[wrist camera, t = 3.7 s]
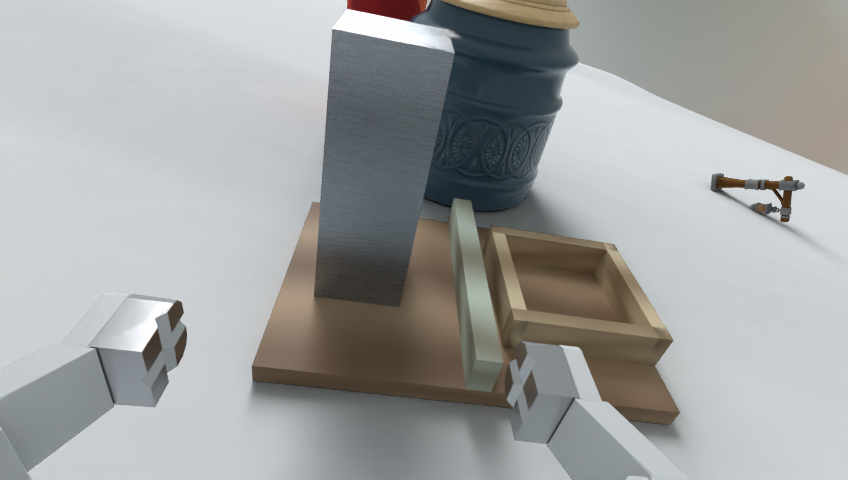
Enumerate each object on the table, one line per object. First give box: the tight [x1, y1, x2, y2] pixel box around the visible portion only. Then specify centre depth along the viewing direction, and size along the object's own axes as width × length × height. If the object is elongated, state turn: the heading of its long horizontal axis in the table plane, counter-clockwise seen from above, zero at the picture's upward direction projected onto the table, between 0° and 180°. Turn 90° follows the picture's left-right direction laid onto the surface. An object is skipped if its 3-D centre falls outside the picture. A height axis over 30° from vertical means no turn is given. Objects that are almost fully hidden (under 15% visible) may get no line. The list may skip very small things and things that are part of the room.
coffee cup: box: [347, 0, 427, 22], centre depth 45 cm, size 8×8×15 cm
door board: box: [252, 198, 680, 425], centre depth 26 cm, size 14×20×3 cm
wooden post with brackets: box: [711, 173, 805, 222], centre depth 48 cm, size 2×8×4 cm, turn 32°
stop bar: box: [314, 9, 455, 307], centre depth 22 cm, size 4×4×13 cm
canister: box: [410, 0, 580, 211], centre depth 36 cm, size 13×13×18 cm
